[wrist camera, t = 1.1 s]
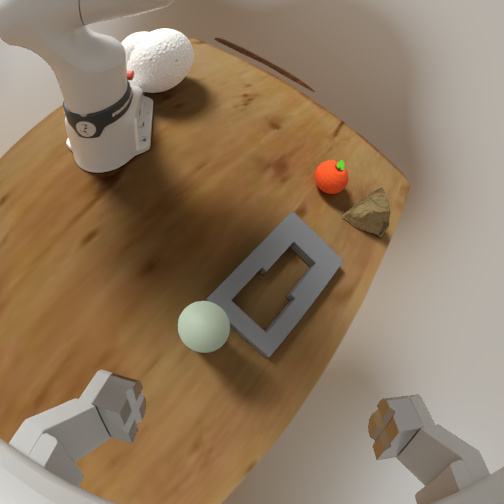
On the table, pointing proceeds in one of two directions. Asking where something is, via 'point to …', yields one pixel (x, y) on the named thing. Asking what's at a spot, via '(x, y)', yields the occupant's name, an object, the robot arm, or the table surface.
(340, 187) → the clementine
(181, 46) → the white lumpy blob
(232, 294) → the keyhole board
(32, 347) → the table surface
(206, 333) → the sage post
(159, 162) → the table surface
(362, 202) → the rock
